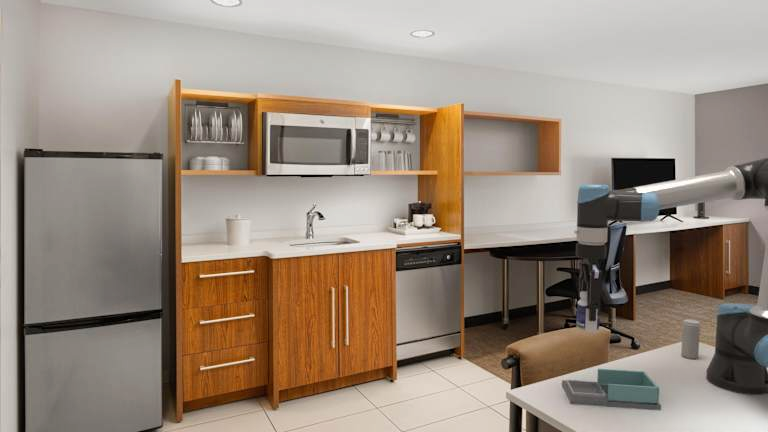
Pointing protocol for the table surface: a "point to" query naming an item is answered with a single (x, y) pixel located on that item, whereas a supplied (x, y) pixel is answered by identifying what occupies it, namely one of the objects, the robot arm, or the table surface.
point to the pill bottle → (584, 312)
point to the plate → (598, 395)
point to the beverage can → (690, 339)
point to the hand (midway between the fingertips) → (587, 328)
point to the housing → (629, 385)
